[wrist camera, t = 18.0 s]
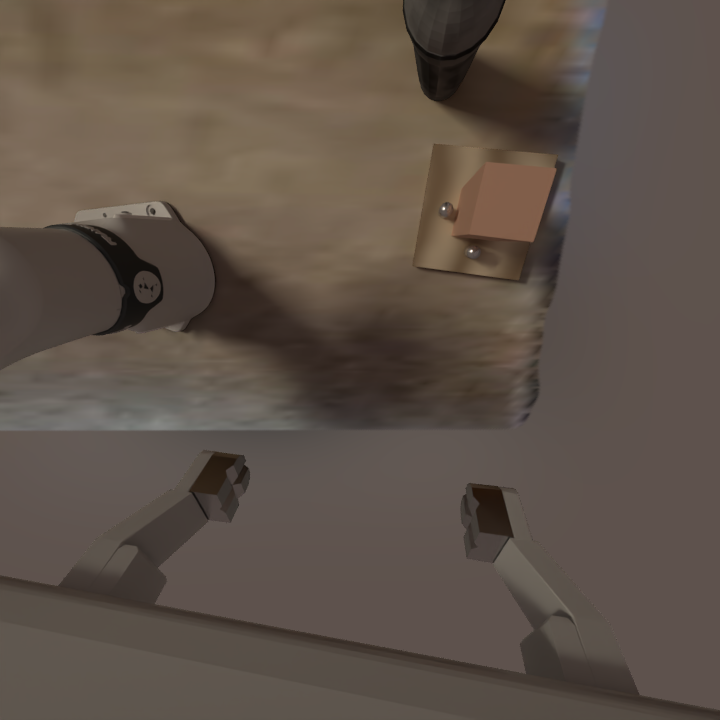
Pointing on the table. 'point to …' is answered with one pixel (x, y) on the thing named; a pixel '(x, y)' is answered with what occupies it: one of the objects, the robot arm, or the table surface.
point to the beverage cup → (447, 39)
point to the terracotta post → (503, 202)
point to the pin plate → (440, 208)
